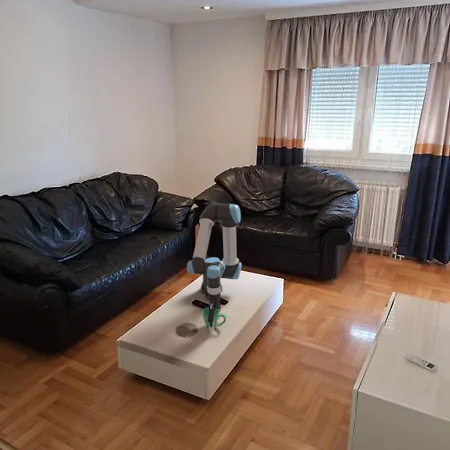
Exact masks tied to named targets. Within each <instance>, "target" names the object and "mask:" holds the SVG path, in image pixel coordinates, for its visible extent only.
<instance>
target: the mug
mask: <svg viewBox="0 0 450 450" xmlns="http://www.w3.org/2000/svg"><path fill="white" fill-rule="evenodd" d="M201 311H202V312H201V313H202V318H203V320H204V323H205V326H206V327H207V329H209V322H208V321H207V320H208V315H209V306H207V307H205V308H203V309H202V310H201ZM218 317H220V318H223V321H222V322H220V323H217V322H218V320H219V319H218ZM213 321H214V328H216V327H220V326H222V325H223V324H225V323H226V321H227V316H226V314H224V313H220V314H219V310H218V309H217V308H216V310H215V313H214V320H213Z"/></svg>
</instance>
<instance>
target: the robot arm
mask: <svg viewBox="0 0 450 450" xmlns="http://www.w3.org/2000/svg"><path fill="white" fill-rule="evenodd" d="M241 217H242V215H241V209H240V206H239V205H237V204H233V203H218V202H217V203H216V202H215V203H212V204H209V205H208V206H206V207H205V209H204V210H203V211H202V213H201V214H200V216H199V221H198V222H199V228H198V234H197V238H196V243H195V247H194V251H193V255H192V260H188V262H187V265H186V270H187V273H188V274H193V275H202V282H201V285H200V292H201V293H202V294H203V295H206V294H208V295H207V300H209V301H210V302H209V305H208V307H209V315H208V320H207V321H208V322H209V328H208V331H210V332H214V331H215V327H214V321H213V320H214V313H215V310H216V308H217V309H218V310H219V314H221V313H220V310H221V309H222V307H221V301H220V300H221V295H222V293H221V292H223V285H222V282H221V279H226V280H239V278H240V276H241V271H242V262H241V261H240V259H239V258H238V257H237V226H238V225H239V223H240V222H241V219H242V218H241ZM216 222H217V223H218V222H219V225H220V227H221V228H222V241H223V242H222V244H223V258H222V260H220V258H218V257H215V256H213V257H208V258H206V257H207V251H208V247H209V243H210V238H211V232H212V228H213V226H214V225H215V223H216ZM220 318H221V317H218V319H217V320H220Z"/></svg>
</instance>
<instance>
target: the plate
mask: <svg viewBox="0 0 450 450" xmlns="http://www.w3.org/2000/svg"><path fill="white" fill-rule="evenodd" d="M198 331H199V328H198V326H197V324H195V323H192V322H183V323H181V324H178V325H177V326H176V328H175V334H177V336H180V337H185V338H186V336H188V337H192V336H194V335H196V334H197V333H198Z"/></svg>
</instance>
